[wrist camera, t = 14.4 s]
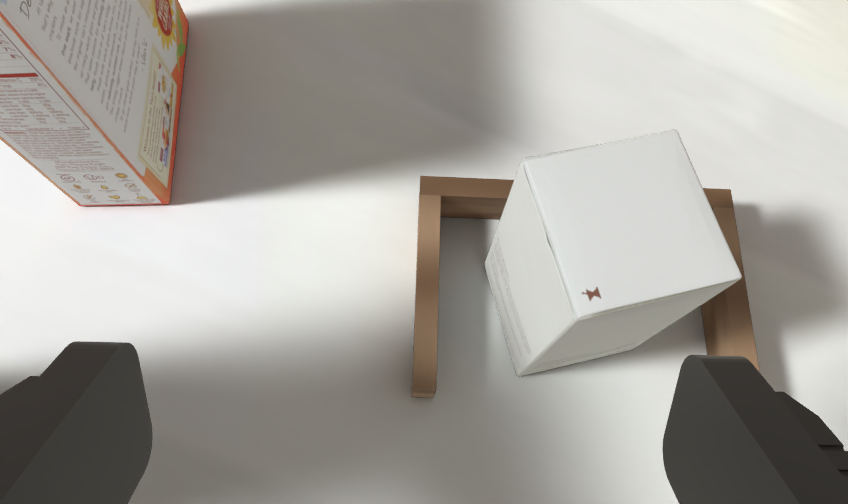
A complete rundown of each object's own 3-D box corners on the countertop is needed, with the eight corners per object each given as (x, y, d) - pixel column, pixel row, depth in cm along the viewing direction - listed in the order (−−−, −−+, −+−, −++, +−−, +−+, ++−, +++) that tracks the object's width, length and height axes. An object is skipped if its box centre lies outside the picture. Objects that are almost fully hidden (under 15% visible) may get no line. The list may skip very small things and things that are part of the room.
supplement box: (637, 351, 36) (750, 283, 25) (514, 379, 36) (570, 324, 24) (596, 235, 39) (681, 124, 27) (480, 259, 38) (516, 155, 26)
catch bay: (735, 408, 35) (764, 401, 33) (411, 396, 35) (412, 388, 32) (707, 210, 40) (730, 189, 37) (419, 198, 39) (420, 175, 37)
